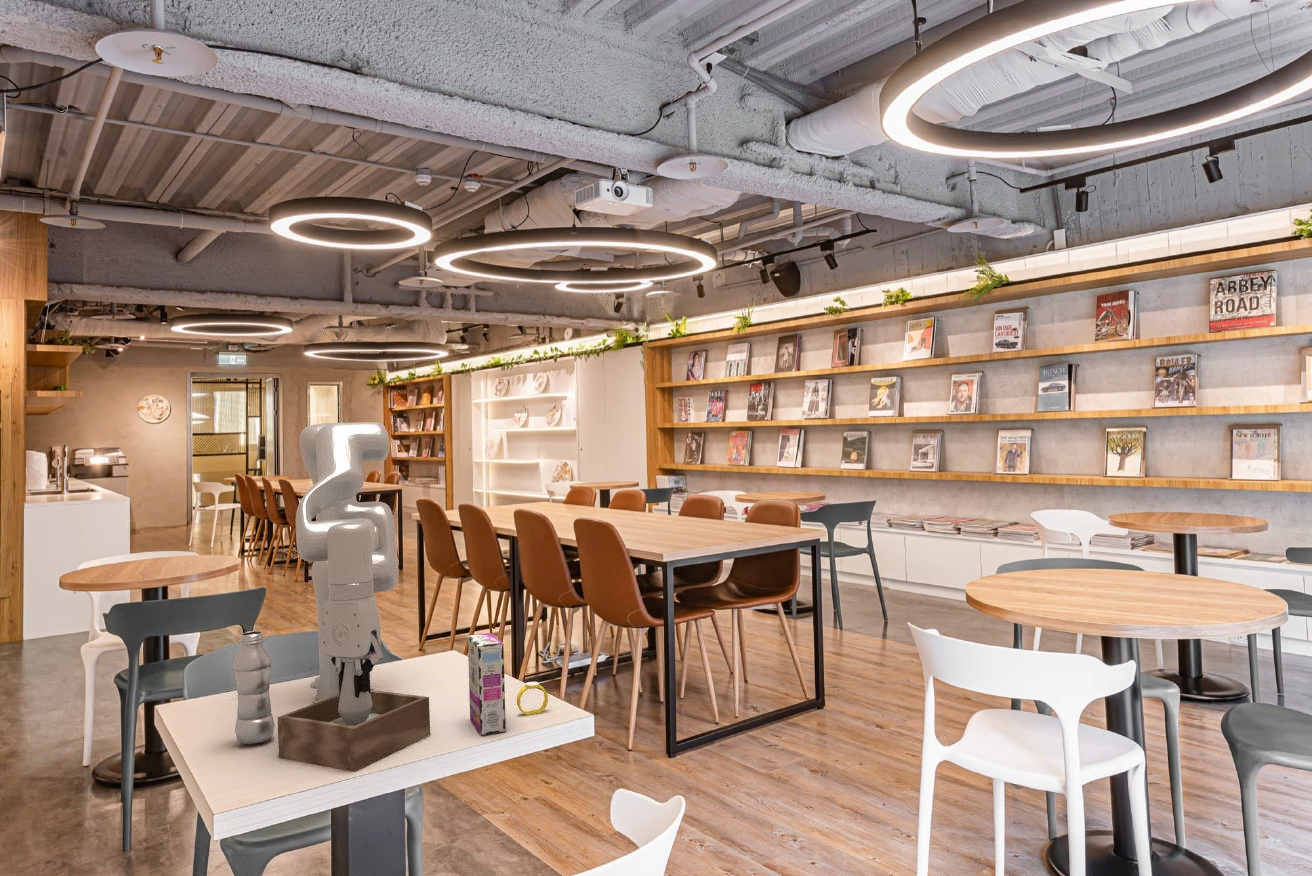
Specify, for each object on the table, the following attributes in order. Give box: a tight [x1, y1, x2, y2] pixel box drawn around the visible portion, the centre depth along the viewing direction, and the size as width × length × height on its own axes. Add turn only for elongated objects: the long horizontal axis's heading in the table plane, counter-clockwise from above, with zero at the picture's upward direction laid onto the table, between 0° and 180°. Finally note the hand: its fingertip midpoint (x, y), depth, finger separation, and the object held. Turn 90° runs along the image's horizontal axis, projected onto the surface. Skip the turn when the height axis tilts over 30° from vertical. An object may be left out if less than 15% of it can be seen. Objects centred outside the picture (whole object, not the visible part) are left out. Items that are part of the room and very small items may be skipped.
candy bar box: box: [467, 632, 507, 736], centre depth 156 cm, size 11×5×16 cm, turn 23°
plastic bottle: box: [232, 630, 275, 745], centre depth 152 cm, size 6×7×20 cm
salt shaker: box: [338, 658, 372, 724], centre depth 147 cm, size 6×6×13 cm
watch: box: [516, 681, 549, 716], centre depth 162 cm, size 6×3×6 cm, turn 114°
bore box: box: [277, 689, 431, 772], centre depth 147 cm, size 18×18×7 cm
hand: (354, 693), depth 147 cm, fingers closed on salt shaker, 3 cm apart
